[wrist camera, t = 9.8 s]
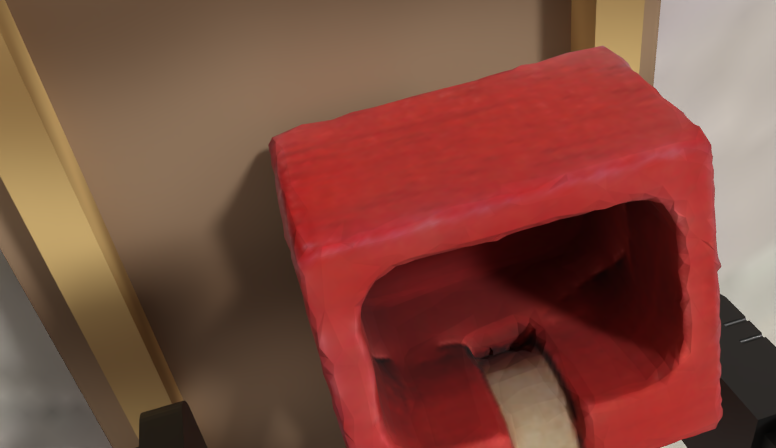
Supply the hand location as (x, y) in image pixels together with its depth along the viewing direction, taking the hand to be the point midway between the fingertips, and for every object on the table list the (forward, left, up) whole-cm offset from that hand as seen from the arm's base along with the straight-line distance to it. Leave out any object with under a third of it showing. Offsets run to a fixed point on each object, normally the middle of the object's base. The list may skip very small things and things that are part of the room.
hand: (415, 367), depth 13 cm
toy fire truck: (0, 0, -4) cm, 4 cm away
